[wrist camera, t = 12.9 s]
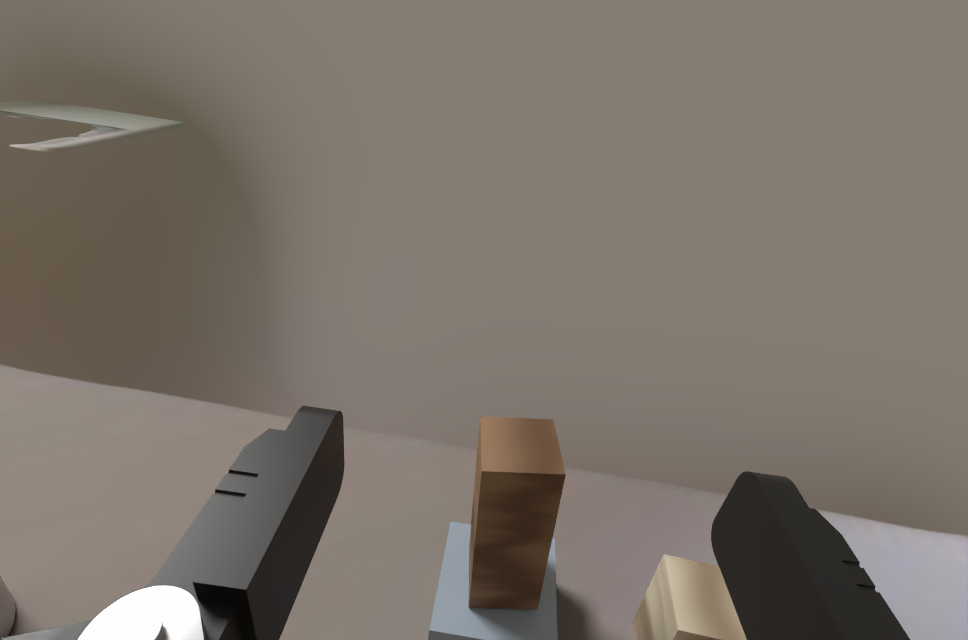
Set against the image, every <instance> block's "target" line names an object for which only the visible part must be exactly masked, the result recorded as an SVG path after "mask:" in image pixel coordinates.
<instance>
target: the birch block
mask: <svg viewBox="0 0 968 640" xmlns="http://www.w3.org/2000/svg"><path fill="white" fill-rule="evenodd" d="M633 628H634V637H635V640H747V639H746V636H745V634H744V631H743V628H742V626H741V623H740V621H739V618H738V615H737V613H736V610H735V607H734V605H733V602H732V599H731V597H730V594H729V591H728V589H727V586H726V584H725V581H724V578H723V576H722V573H721V570H720V568H719V566H716V565H711V564H706V563H702V562H697V561H693V560H688V559H683V558H679V557H674V556H669V555H665V554H664V555H663V557H662V559H661V561H660V564H659V566H658V568H657V570H656V572H655V574H654V577H653V579H652V581H651V583H650V585H649V587H648V590H647V592H646V594H645V596H644V598H643V600H642V603H641V605H640V607H639V609H638V611H637V613H636V615H635V618H634V620H633Z"/></svg>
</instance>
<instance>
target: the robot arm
mask: <svg viewBox="0 0 968 640" xmlns="http://www.w3.org/2000/svg"><path fill="white" fill-rule="evenodd" d="M343 473H344V435H343V415H342V412H341V411H336V410H329V409H322V408H315V407H308V406H302V407H301V408H300V409H299V410H298V411H297V413H296V415H295V416H294V418H293V419H292V421H291V423H290V424H289V426H288V427H287V429H286V431H283V430H276V429H268V430H267V431H265V432H264V433H263V434H261V435H260V436H259V437H257V438H256V439H254V440H253V441H252V442H250V443H249V444H248V445H246V446H245V447H244V449H243V450H242V452H241V453H240V455H239V456H238V457H237V459H236V460H235V462H234V463H233V465H232V466H231V467H230V469H229V473H228V474H226V475H225V476H224V478H223V479H222V480H221V482H220V483H219V485H218V486H217V488H216V489H215V493H214V495H213V494H212V495H211V496H210V498H209V499H208V501H207V502H206V504H205V505H204V506H203V508H202V509H201V511H200V512H199V514H198V515H197V517H196V518H195V519H194V521H193V522H192V524H191V525H190V527H189V528H188V530H187V531H186V532H185V534H184V535H183V537H182V538H181V540H180V541H179V543H178V544H177V545H176V547H175V548H174V550H173V551H172V553H171V554H170V555H169V557H168V558H167V560H166V561H165V563H164V564H163V566H162V567H161V568H160V570H159V571H158V573H157V574H156V575H155V577H154V578H153V579H152V580H151V581H150V582H149V583H148V584H147V586H146V587H145V588H144V589H142V590H139V591H136V592H134V593H132V594H130V595H128V596H125V597H124V598H122V599H120V600H118V601H117V602H115V603H114V604H112V605H111V606H109V607H108V608H107V609H105V610H104V611H103V612H102V613H101V614H100V615H99V616H97V617H96V618H95V619H92V620H90V621H87V622H83V623H79V624H75V625H70V626H64V627H59V628H53V629H48V630H43V631H37V632H32V633H26V634H21V635H15V636H10V637H8V636H9V633H10V631H11V628H12V626H13V623H14V620H15V611H16V607H15V603H14V599H13V597H12V595H11V593H10V592H9V590H8V588H7V587H6V585H5V583H4V582H3V580H2V578H1V577H0V640H279V638H280V636H281V634H282V631H283V629H284V626H285V624H286V621H287V619H288V616H289V614H290V612H291V609H292V607H293V604H294V602H295V599H296V597H297V595H298V592H299V590H300V587H301V585H302V582H303V580H304V577H305V575H306V573H307V570H308V568H309V565H310V563H311V560H312V558H313V556H314V553H315V551H316V548H317V546H318V543H319V541H320V538H321V536H322V534H323V531H324V529H325V526H326V524H327V521H328V519H329V517H330V514H331V512H332V509H333V507H334V504H335V502H336V499H337V497H338V494H339V491H340V488H341V484H342V479H343ZM711 541H712V547H713V551H714V554H715V557H716V560H717V562H718V565H719V568H720V570H721V573H722V576H723V578H724V581H725V584H726V586H727V589H728V591H729V594H730V597H731V599H732V602H733V605H734V607H735V610H736V613H737V615H738V618H739V621H740V623H741V626H742V628H743V631H744V634H745V636H746V639H747V640H910V639H909V637H908V636H907V634H906V632H905V631H904V629H903V628H902V626H901V625H900V623H899V622H898V620H897V619H896V617H895V616H894V614H893V613H892V611H891V610H890V608H889V607H888V605H887V603H886V602H885V600H884V599H883V597H882V596H881V594H880V593H878V592H876V591H875V585H874V584H873V582H872V581H871V579H870V577H869V576H868V574H867V573H866V571H865V570H864V568H860V566H859V563H860V562H859V561H858V559H857V558H856V556H855V555H854V553H853V551H852V550H851V548H850V547H849V545H848V544H847V542H846V541H845V539H844V538H843V536H842V535H841V534H840V533H839V532H838V531H837V530H836V529H835V528H834V527H833V526H832V525H831V524H830V523H829V522H828V521H827V520H826V519H825V518H824V517H823V516H822V515H821V514H820V513H819V512H818V511H817V510H816V509H811V508H809V507H808V505H807V504H806V502H805V501H804V499H803V497H802V496H801V494H800V493H799V491H798V490H797V488H796V486H795V485H794V484H793V482H792V481H791V480H790V479H788V478H786V477H782V476H774V475H768V474H761V473H754V472H743V473H742V474H741V475H739V477H738V478H737V480H736V482H735V484H734V485H733V487H732V489H731V491H730V492H729V494H728V496H727V498H726V499H725V501H724V503H723V505H722V507H721V508H720V510H719V512H718V514H717V515H716V517H715V519H714V521H713V525H712V531H711Z"/></svg>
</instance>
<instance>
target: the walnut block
mask: <svg viewBox="0 0 968 640" xmlns="http://www.w3.org/2000/svg"><path fill="white" fill-rule="evenodd" d="M565 475H566V474H565V470H564V465H563V461H562V456H561V452H560V448H559V443H558V439H557V434H556V430H555V425H554V421H553V420H551V419H529V418H506V417H483V416H481V417H480V428H479V440H478V451H477V462H476V474H475V485H474V497H473V508H472V520H471V532H470V543H469V608H496V609H537V610H538V606H539V601H540V596H541V591H542V586H543V581H544V577H545V572H546V567H547V562H548V557H549V552H550V547H551V543H552V538H553V533H554V528H555V523H556V518H557V513H558V509H559V504H560V499H561V494H562V489H563V484H564V480H565Z"/></svg>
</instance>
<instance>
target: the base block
mask: <svg viewBox="0 0 968 640" xmlns="http://www.w3.org/2000/svg"><path fill="white" fill-rule="evenodd" d="M470 532H471V525H469V524H463V523H457V522H451V523H450V528H449V533H448V538H447V543H446V548H445V553H444V558H443V563H442V568H441V573H440V578H439V584H438V589H437V594H436V599H435V604H434V609H433V614H432V619H431V624H430V629H429V638H428V640H558V632H557V597H556V562H555V539H553V538H552V543H551V547H550V552H549V557H548V562H547V567H546V572H545V577H544V581H543V586H542V591H541V596H540V601H539V606H538V610H537V609H496V608H469V543H470Z"/></svg>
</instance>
